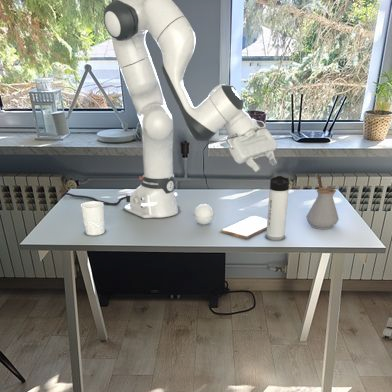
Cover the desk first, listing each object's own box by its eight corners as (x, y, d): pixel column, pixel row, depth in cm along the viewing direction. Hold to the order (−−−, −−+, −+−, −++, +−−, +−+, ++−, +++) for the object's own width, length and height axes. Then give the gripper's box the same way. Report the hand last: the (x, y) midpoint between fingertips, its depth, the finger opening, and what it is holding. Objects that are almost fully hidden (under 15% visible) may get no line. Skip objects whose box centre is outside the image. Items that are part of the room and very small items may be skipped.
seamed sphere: (192, 221, 189) (192, 201, 185) (212, 220, 189) (212, 200, 185) (195, 230, 180) (195, 210, 176) (216, 229, 181) (216, 209, 177)
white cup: (96, 237, 175) (92, 209, 170) (79, 233, 179) (75, 205, 173) (110, 230, 181) (108, 203, 175) (94, 227, 184) (91, 199, 179)
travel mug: (283, 233, 177) (289, 175, 166) (284, 240, 171) (290, 181, 160) (266, 233, 177) (270, 175, 166) (266, 240, 172) (270, 180, 161)
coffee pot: (340, 231, 179) (347, 188, 170) (308, 231, 179) (313, 188, 170) (327, 212, 196) (333, 172, 188) (298, 212, 197) (302, 172, 188)
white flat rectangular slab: (221, 232, 179) (221, 229, 178) (252, 217, 191) (253, 215, 191) (246, 239, 173) (246, 236, 172) (277, 223, 186) (277, 221, 185)
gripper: (229, 130, 155) (254, 167, 155) (266, 121, 168) (289, 155, 168) (218, 144, 160) (242, 180, 160) (254, 133, 173) (277, 167, 173)
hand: (266, 167), depth 164 cm, fingers open, 8 cm apart
